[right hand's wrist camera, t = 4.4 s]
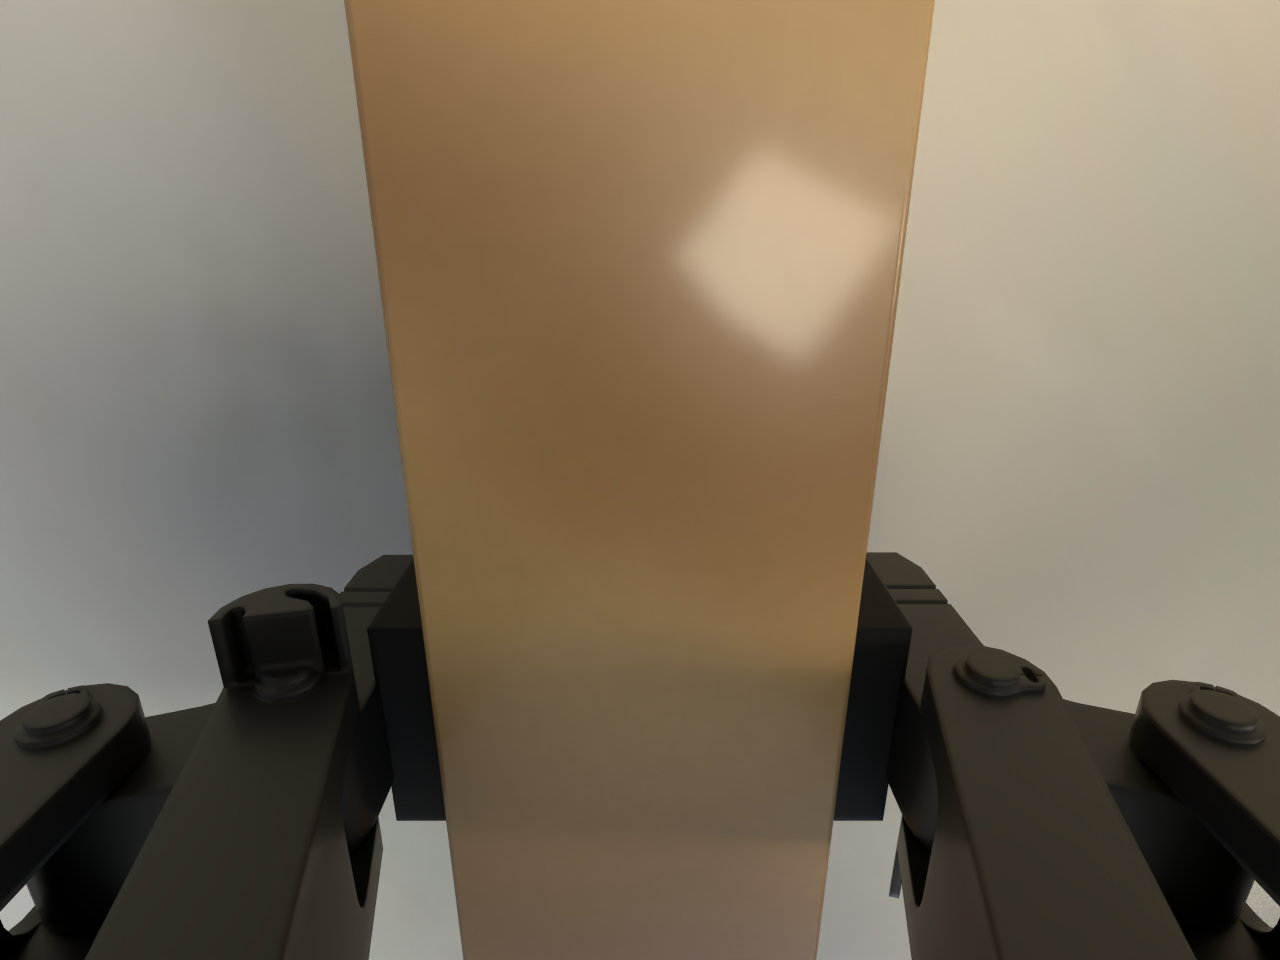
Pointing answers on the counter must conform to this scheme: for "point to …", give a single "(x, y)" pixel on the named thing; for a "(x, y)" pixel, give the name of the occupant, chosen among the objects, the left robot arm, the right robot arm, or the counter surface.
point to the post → (639, 439)
